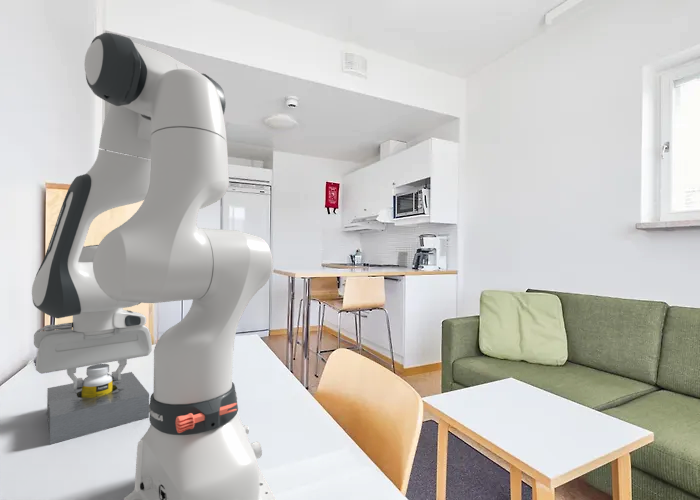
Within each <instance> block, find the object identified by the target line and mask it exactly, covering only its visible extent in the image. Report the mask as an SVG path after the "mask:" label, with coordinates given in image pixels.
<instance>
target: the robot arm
mask: <svg viewBox="0 0 700 500" xmlns="http://www.w3.org/2000/svg"><path fill="white" fill-rule="evenodd" d="M84 71H85V79H86V80H85V81H86V83H87V85H88V86H89V88H90V89H91V91H92V93H93V94H94V95H95V96H97V97H98V98H100V99H102V100H103V101H104V102H107V103H109V106H108V109H107V111H106V114H105V117H104V121H103V126H102V128H101V133H100V139H99V146H98V148H99V149H98V152H97V156H96V160H95V161H94V163H93V165H92V166H91V168H90V169H89V170H88V171H87V172H86V173H85V174H81V175H78V176H75V178H74V179H73V181H72V182H71V183H70V186H69V187H68V190H67V192H66V195H65V197H64V200H63V202H62V205H61V208H60V210H59V212H58V217H57V220H56V222H55V225H54V228H53V232H52V234H51V238H50V240H49V243H48V247H47V250H46V251H45V252H46V253H45V255H44V257H43V259H42V262H41V264H40V266H39V267H38V270H37V273H36V275H35V277H34V281H33V283H32V287H31V298H32V299H31V300H32V303H33V305H34V307H35V308H36V309H38V310H39V311H41V312H42V313H44V314H45V315H48V317H52V318H54V319H61V318H67V317H72V322H66V323H58V324H48V325H43V327H41V328H39V329H37V330H36V331H35V333H34V334H33V345H34V346H35V348H37V352H36V361H35V371H36V372H37V373H39V374H47V373H53V372H59V371H60V372H61V371H65V370H66V374H67V376H68V377H69V378H70V379H71V381H72V382H73V387H74V389H79V388H83V384H82V383H83V380H84V378H83V377H77V376H76V375H75V374H76V373H77V368H83V367H89V366H92V365H96V364H108V363H111V362H112V363H113V362H117V363H118V366H117V369H116V370H114V371H111V375H112V377H113V381H119V380H121V374H122V372H123V371H124V369H125V367H126V365H128V363H127V362H128V361H127V360H130V359H131V360H132V359H135V358H136V359H137V358H142V357H147V356H149V355H150V354H151V352H152V350H153V392H152V393H151V395H150V396H149V417H148V419H149V423H150V425H149V428H148V429H147V430H146V432H145V434H144V435H143V437H141V438H140V440H139V441H138V443H137V445H136V446H137V447H136V448H137V449H136V459H135V460H136V463H135V478H134V480H135V481H134V489H133V490H132V491H131V492H130V493H128V495H126V496H125V497H124V498H123V499H122V500H277V498H276V496H275V494H274V492H273V491H272V489H271V487H270V485H269V483H268V482H267V480H266V477H265V475H264V474H263V472H262V470H261V468H260V466H259V462H258V460H259V459H261V458H262V455H263V450H262V446H261V442H260V441H255V442H252V443H251V441H250V439H249V436H248V435H249V431H250V429H249V426H248V424H246V425H243V422H242V420H241V417H240V414H239V406H238V394H237V390H236V386H235V383H234V382H233V368H234V367H233V363H234V362H233V361H234V350H235V349H234V348H235V341H236V340H235V339H236V335H237V334H236V333H237V330H238V327H239V324H240V321H241V318H242V316H243V314H244V312H245V310H246V308H247V306H248V304H249V303H250V301H252V299H253V298H254V296H255V295H256V294H257V293H258V292H259V290H261V289H262V288H263V287H264V286H265V285H267V283H268V281H269V280H270V277H271V275H272V271H273V267H274V260H273V254H272V250H271V248H270V246H269V244H268V243H267V242H266V240H265V239H263V237H260V236H259V235H255V234H252V233H249V232H244V231H240V230H237V229H220V228H219V229H217V228H206V227H205V228H202V227H201V228H200V227H198V223H197V221H198V220H197V219H198V214H199V212H200V209H203V208H207V207H208V206H210V205H212V204H214V203H217V202H218V201H220V200H221V199H222V198H223V197H224V196H225V195H226V193H227V191H228V190H229V189H228V188H229V185H230V179H229V178H230V177H229V175H230V173H229V172H230V171H229V159H228V158H229V157H228V155H229V153H228V140H227V139H228V138H227V129H226V122H225V116H224V115H225V110H226V97H225V92H224V90H223V87H222V86H221V85H220V84H219V83H218V82H217V81H216V80H215V79H213V78H212V77H210V76H209V75H207V74H206V73H200V72H199V71H197V70H196V69H194V68H193V67H191V66H189V65H187V64H185V63H183V62H182V61H180V60H178V59H176V58H174V57H172V56H171V55H169V54H167V53H166V52H165V53H164V52H162V51H160V50H158V49H155V48H152V47H150V46H147V45H144V44H143V43H139V42H135V41H133V40H132V39H131V38H130V37H126V36H125V35H121V34H117V33H111V32H103V33H101V34H99V35H97V36H95V37H94V38H93V40H91V43H90V45H89V47H88V48H87V51H86V53H85V56H84ZM139 202H140V203H141V202H142V203H141V205H140V207H139V208H138V209H137V210H136V212H135V213H134V214H133V215H132V216H131V217H130V218H129V219H128V220H126V221H124V222H123V223H122V224H120V225H119V226H117V227H116V228H114V229H113V230H111V231H109V232H108V233H107V234H106V235H105V236H104V237H103V238H102V240H100V242H99V244H93V245H92V244H91V245H87V246H84V245H85V241H86V239H87V236H88V232H89V230H90V227H91V224H92V222H93V221H94V220H95V219H96V218H97V217H98V216H99V215H101V214H103V213H105V212H107V211H109V210H112V209H115V208H119V207H123V206H128V205H132V204H136V203H139ZM190 300H191V301H192V303H191V306H190V307H189V310H188V312H187V313H186V315H185V316H184V317H183V318H182V319H181V320H180V321H179V322H177V323H176V324H174V325H172V326H170V327H169V328H168V329H167V330H165V331H164V332H163V334H161V336H160V337H159V338H158V340H157V342H156V343H155V344H156V345H155V346H154V349H153V345H152V342H153V341H152V336H151V335H152V334H151V332H150V329H149V328H148V327H147V326H146V324H147V316H145V314H143V313H141V312H137V311H131V310H128V309H127V310H126V309H124V308H132V307H135V306H138V305H140V304H159V303H172V302H179V301H181V302H182V301H190Z"/></svg>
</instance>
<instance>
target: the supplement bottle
mask: <svg viewBox="0 0 700 500" xmlns="http://www.w3.org/2000/svg"><path fill="white" fill-rule="evenodd" d="M85 372H86V377H84V378H83V383H82V384H83V388H82V398H93V397H97V396H102V395H106V394H109V393H111V392H112V385H113V377H112V374H110V373H109V372H110V365H109V364H108V363H102V364H96V365H90V366H87V367H86V371H85Z"/></svg>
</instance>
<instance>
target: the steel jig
mask: <svg viewBox="0 0 700 500" xmlns="http://www.w3.org/2000/svg"><path fill="white" fill-rule="evenodd" d="M46 391H47V393H46V394H47V395H46V397H47V401H46V405H47V406H46V408H47V409H46V412H47V424H48V425H47V426H48V439H49V445H54V444H57V443H60V442H64V441H69V440H72V439H76V438H79V437H82V436H86V435H90V434H94V433H97V432H100V431H105V430H108V429H111V428H116V427H120V426H122V425H127V424H130V423H133V422H137V421H141V420H143V419H144V420H145V419H149V418H150V413H149V404H150V392H148V391H147V389H146V388H145V386H144V385H143V384H142V383H141V382H140V380H139V379H138V378H137V377H136V375H135V374H134V373H133V372H132V371H129V372H125V373H121V380H119V381H113V385H112V392H111V393H109V394H106V395H102V396H97V397H93V398H82V388H79V389H74V387H73V383H67V384H62V385H58V386H52V387H48V388H47V390H46Z"/></svg>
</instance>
